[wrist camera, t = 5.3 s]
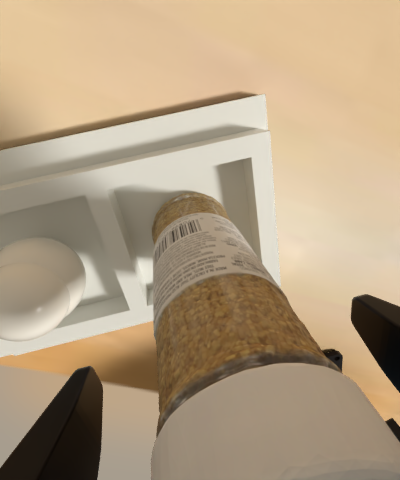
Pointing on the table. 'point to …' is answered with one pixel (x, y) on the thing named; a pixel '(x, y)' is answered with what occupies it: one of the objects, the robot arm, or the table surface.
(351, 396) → the sprinkles bottle
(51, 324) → the egg
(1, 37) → the table surface
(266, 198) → the tray
